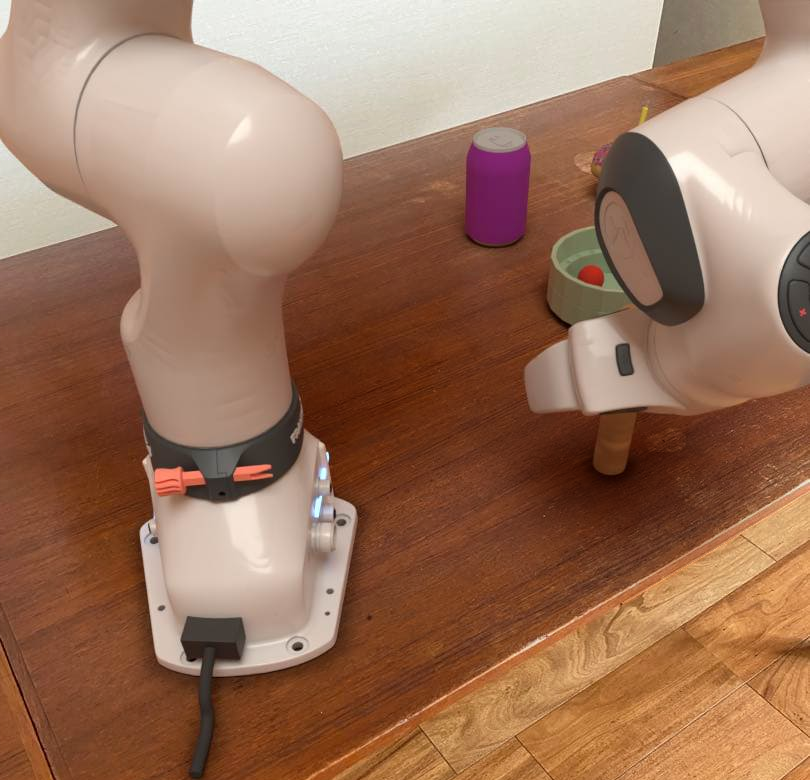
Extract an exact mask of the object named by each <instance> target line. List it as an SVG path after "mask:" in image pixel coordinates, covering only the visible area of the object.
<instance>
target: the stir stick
mask: <svg viewBox="0 0 810 780" xmlns="http://www.w3.org/2000/svg"><path fill="white" fill-rule="evenodd" d="M632 307H635V305H634V304H628V305H625V306H623V307H622V308H621V309H620V310H623V309H627V308H632ZM620 310H619V311H620ZM637 414H638V412H634V413H617V414H609V415H601V416H599V417H600V418H599V424H598V429H597V435H596V440H595V447H594V453H593V458H592V465H593V467H594V469H595V471H597V472H598V473H600V474H603V475H607V476H616V475H619V474H622V473H623V472H624V471H625V469H626V467H627V463H628V458H629V454H630V449H631V444H632V438H633V434H634V429H635V424H636V419H637V416H638V415H637Z"/></svg>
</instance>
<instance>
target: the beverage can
mask: <svg viewBox="0 0 810 780" xmlns="http://www.w3.org/2000/svg"><path fill="white" fill-rule="evenodd" d="M465 159H466V160H465V161H466V162H465V202H464V203H465V205H464V206H465V207H464V211H465V212H464V217H465V218H464V227H465V229H464V230H465V232H466V234H467V236H469V237H470V238H471V239H472V240H473V241H474V242H475V243H477V244H479V245H482V246H486V247H496V248H499V247H506V246H509V245H512V244H514V243H515V242H517V241H518V240H519V239H520V238H522V237H523V236H524V234H525V233H526V228H527V216H528V205H529V191H530V178H531V177H530V176H531V162H532V153H531V151H530V147H529V144H528V140H527V136H526V134H525V133H524V132H522V131H520V130H518V129H515V128H511V127H506V126H505V127H504V126H502V127H500V126H499V127H498V126H495V127H488V128H485V129H480V130H479V131H477V132H475V134H474V135H473V137H472V141H471V143H470V146H469V149H468V151H467V154H466V158H465Z"/></svg>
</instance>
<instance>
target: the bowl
mask: <svg viewBox="0 0 810 780" xmlns="http://www.w3.org/2000/svg"><path fill="white" fill-rule="evenodd" d="M589 265H595V266H597V267H599V268H600V269H601V270H602V271H603V274H604V283H603V285H602V287H600V286H596V285H592V284H588V283H585V282H583V281H581V280H579V279H577V277H578V274H579V272H580V271H581V269H583V268H584V267H586V266H589ZM546 289H547V290H546V300H547V303H548V305H549V308H550V310H551V311H552V312H553V313H554V314H555V315H556V316H557V317H558V318H559V319H560V320H561V321H563V322H565V323H567V324H568V325H571V326H573V325H574V324H576V323H578V322H581V321H585V320H589V319H591V318H594V317H598V316H602V315H606V314H610V313H613V312H617V311H619V310H620V309H621V308H622V307H623V306H625V305H628V304H633V303H632V301H631V300H630V299H629V298H628V296H627V295H626V294H625V293H624V291H623V290H622V288H621V287H620V286H619V284H618V283H617V281H616V279H615V278H614V276H613V274H612V273H611V271H610V269H609V267H608V265H607V263H606V260H605V258H604V256H603V253H602V251H601V249H600V246H599V243H598V240H597V236H596V231H595V225H590V226H586V227H582V228H578V229H574V230H572V231H570V232H569V233H566V234H564V235H563V236H561V237H560V238H559V239H558V240H557V241H556V243H554V244H553V246H552V249H551V253H550V259H549V270H548V281H547V288H546Z"/></svg>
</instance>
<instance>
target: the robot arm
mask: <svg viewBox="0 0 810 780" xmlns="http://www.w3.org/2000/svg"><path fill="white" fill-rule="evenodd" d="M194 1H195V0H11V1H10V2H11V3H10V10H9V18H8V24H7V27H6V29H5V31H4V32H3V34H2V35H1V36H0V141H1V142H2V144H3V145H4V146H5V147H6V149H7V151H9V152H10V153H11V154H12V155H13V156H14V157H15V158H16V159H17V161H19V162H20V163H21V164H22V166H24V168H26V169H27V170H28V171H29V172H30V173H31V175H33V176H34V177H35V178H37V180H39V181H40V182H41V184H43V185H44V186H45V187H47V189H49V190H50V191H52V192H54V193H55V194H56V195H58V196H60V197H61V198H63V199H65V200H68V201H69V202H72V203H74V204H76V205H78V206H80V207H81V208H84V209H86V210H88V211H90V212H92V213H94V214H96V215H98V216H100V217H102V218H104V219H106V220H109V221H110V222H112V223H113V224H114V225H117V226H118V228H119V229H120V230H121V231H122V233H123V234H124V235H125V237H126V238H127V240H128V241H129V242H130V245H131V246H132V248H133V250H134V253H135V255H136V258H137V261H138V266H139V275H140V277H139V278H140V287H139V288H138V289H137V290H136V291H135V292H134V294H133V295H132V296H131V297H130V299H129V300H128V301H127V302H126V304H125V306H124V308H123V310H122V312H121V316H120V321H119V322H120V323H119V334H120V339H121V343H122V346H123V349H124V351H125V354H126V357H127V360H128V364H129V366H130V371H131V373H132V376H133V379H134V382H135V385H136V388H137V391H138V395H139V397H140V401H141V404H142V407H141V420H142V428H143V429H142V431H143V437H144V442H145V446H146V451H147V452H148V454H147V455H146V457H145V458H144V459H143V460H142V466H143V468H144V471H145V473H146V477H147V479H148V482H149V489H150V496H151V502H152V503H151V504H152V508H153V509H152V510H153V517H152V518H150V519H148V521H146V522H145V523H144V524H143V525H142V526H141V527H140V529H139V541H140V549H141V557H142V563H143V571H144V579H145V580H144V581H145V588H146V595H147V602H148V612H149V618H150V624H151V626H150V627H151V633H152V641H153V649H154V653H155V657H156V661H157V663H158V664H159V665H160V666H162V667H164V668H166V669H167V670H168V669H169V670H170V671H173V672H177V673H180V674H183V675H184V674H185V675H188V676H189V675H190V676H196V677H199V679H198V691H197V693H198V695H197V699H198V704H199V710H200V718H201V719H200V727H199V735H198V738H197V739H198V740H197V744H196V746H195V750H194V754H193V757H192V761H191V764H190V768H189V772H188V776H189V777H191V778H194V779H199V778H202V776H203V771H204V769H205V768H204V767H205V764H206V760H207V757H208V754H209V750H210V747H211V746H210V745H211V742H212V737H213V731H214V723H215V712H214V707H213V702H212V701H213V700H212V685H213V684H212V683H213V678H214V677H215V678H216V677H217V678H220V677H224V678H225V677H226V678H227V677H238V676H251V675H257V674H258V675H259V674H264V673H265V674H266V673H270V672H275V671H280V670H286V669H289V668H292V667H296V666H298V665H301V664H304V663H306V662H309V661H311V660H313V659H315V658H317V657H319V656H321V655H323V654H325V653H326V652H327V651H329V650H330V649H332V648H333V647H334V645H335V644H336V641H337V639H338V635H339V629H340V623H341V617H342V613H343V607H344V602H345V601H344V600H345V595H346V590H347V584H348V578H349V573H350V569H351V568H350V567H351V562H352V556H353V549H354V545H355V539H356V534H357V528H358V522H359V515H358V512H357V509H356V507H355V506H354V504H352V503H350V502H349V501H347V500H344V499H342V498H339V497H336V496H335V495H334V489H333V483H332V482H333V481H332V479H331V478H332V477H331V472H330V465H329V460H330V456H329V452H328V451H327V448H326V445H325V443H324V442H322V441H321V440H320V439H318V438H317V437H316V436H314V435H313V434H311V432H309V431H308V430H307V429H306V428H305V424H304V408H303V404H302V399H301V396H300V394H299V390H298V387H297V384H296V383H295V381H294V379H293V378H292V377H291V373H290V366H289V360H288V359H289V358H288V352H287V345H286V343H287V342H286V337H285V336H286V335H285V326H284V319H283V299H284V293H285V292H284V291H285V287H286V282H287V280H288V277H289V274H290V273H291V272H292V271H294V270H296V269H298V268H299V267H300V266H302V265H304V264H305V263H306V262H307V261H308V260H310V258H311V257H312V256H313V255H314V254H316V252H317V251H318V250H319V249H320V248H321V247H322V245H323V243H324V242H325V241H326V239H327V237H328V235H330V232H331V231H332V229H333V227H334V224H335V223H336V220H337V217H338V215H339V212H340V208H341V205H342V201H343V195H344V188H345V164H344V155H343V149H342V148H343V147H342V144H341V140H340V137H339V134H338V132H337V129H336V127H335V125H334V123H333V122H332V120H331V118H330V117H329V115H328V114H327V113H326V111H325V110H323V108H322V107H321V106H320V105H319V104H317V103H316V102H315V101H313V100H312V99H311V98H309V97H308V96H307V95H305V94H303V93H302V92H300V91H299V90H298V89H296V88H295V87H294V86H293V85H291V84H290V83H288V82H287V81H285V80H283V79H282V78H280V77H279V76H277V75H275V74H274V73H273V72H270V70H268V69H266V68H264V67H263V66H262V65H260V64H258V63H256V62H253V61H251V60H248V59H245V58H242V57H239V56H235V55H232V54H229V53H226V52H223V51H220V50H216V49H212V48H209V47H206V46H203V45H199V44H197V43H195V42H194V37H193V30H192V21H193V9H194ZM757 1H758V4H759V9H760V13H761V17H762V21H763V25H764V31H765V32H764V33H765V37H764V42H763V46H762V49H761V52H760V54H759V56H758V58H757V59H756V61H755V62H754V64H753V65H752V66H751V67H750V68H748V69H746V70H744V71H742V72H740V73H739V74H737V75H735V76H732V77H730V78H729V79H727V80H725V81H724V82H721V83H720V84H717V85H716V86H713V87H712V88H710V89H708V90H706V91H704V92H702V93H700V94H698V95H697V96H694V97H690V98H687V99H685V100H684V101H681V102H680V103H678V104H676V105H674V106H672V107H671V108H669V109H666V110H664V111H662V112H661V113H659V114H656V115H655V116H654V117H651V118H650V119H648V120H645V122H644V123H642V124H640V125H639V126H638V125H637V126H635V127H633V128H631V129H630V130H628V131H626V132H623V133H621V134H619V135H618V136H617V137H616V138H615V139H614V140H613V141H612V142H613V143H612V142H611V143H612V145H611V147H610V149H609V151H608V152H607V155H606V157H605V159H604V162H603V165H602V168H601V171H600V175H599V179H598V178H597V180H598V181H597V186H596V193H595V201H594V214H593V215H594V216H593V217H594V219H593V220H594V221H593V222H594V226H595V231H596V236H597V240H598V243H599V246H600V249H601V251H602V253H603V256H604V258H605V260H606V263H607V265H608V267H609V269H610V271H611V273H612V274H613V276H614V278H615V279H616V281H617V283H618V284H619V286H620V287H621V288H622V290H623V291H624V293H625V294H626V295H627V296H628V298H629V299H630V300H631V301H632V303H633V304H634V305H635V307H632V308H627V309H623V310H620V311H617V312H613V313H610V314H606V315H602V316H598V317H594V318H591V319H589V320H585V321H581V322H578V323H576V324H574V325H571V326H570V327H568V330H567V338H566V339H564V340H560V341H558V342H556V343H554V344H552V345H551V346H549V347H547V348H546V349H544V350H543V351H542V352H540V353H539V354H538V355H536V356H535V357H534V358H532V359H531V360H530V361H529V362H528V363H527V364H526V366H525V367H524V368H523V381H524V382H523V383H524V388H525V389H524V390H525V395H526V399H527V404H528V407H529V410H530V411H531V412H532V413H534V414H554V413H566V412H576V411H581V414H582V415H583V416H585V417H592V416H598V415H599V417H601V415H609V414H617V413H634V412H637V413H649V414H650V413H652V414H659V415H660V414H662V415H677V416H684V417H685V416H686V417H688V416H689V417H690V416H699V415H704V414H707V413H711V412H715V411H719V410H722V409H727V408H730V407H734V406H737V405H738V406H739V405H740V404H743V403H745V402H747V401H749V400H751V399H763V398H769V397H774V396H777V395H781V394H784V393H787V392H791V391H794V390H797V389H800V388H803V387H806V386H808V385H810V0H757ZM299 648H301V649H300V650H296V649H299ZM193 659H195V660H194V661H191V660H193Z"/></svg>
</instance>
